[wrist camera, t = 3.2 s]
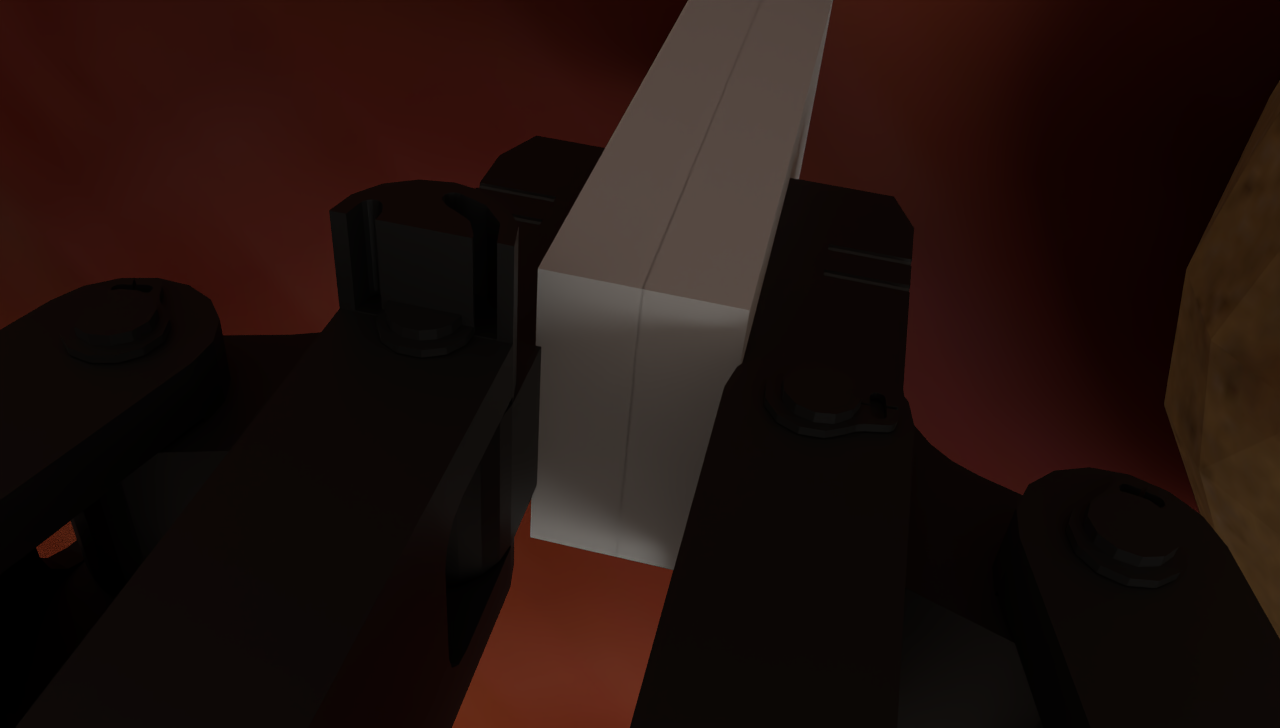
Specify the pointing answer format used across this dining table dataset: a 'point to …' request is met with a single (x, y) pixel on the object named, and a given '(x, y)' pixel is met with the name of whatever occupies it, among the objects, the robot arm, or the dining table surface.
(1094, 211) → the dining table surface
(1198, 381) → the potato
